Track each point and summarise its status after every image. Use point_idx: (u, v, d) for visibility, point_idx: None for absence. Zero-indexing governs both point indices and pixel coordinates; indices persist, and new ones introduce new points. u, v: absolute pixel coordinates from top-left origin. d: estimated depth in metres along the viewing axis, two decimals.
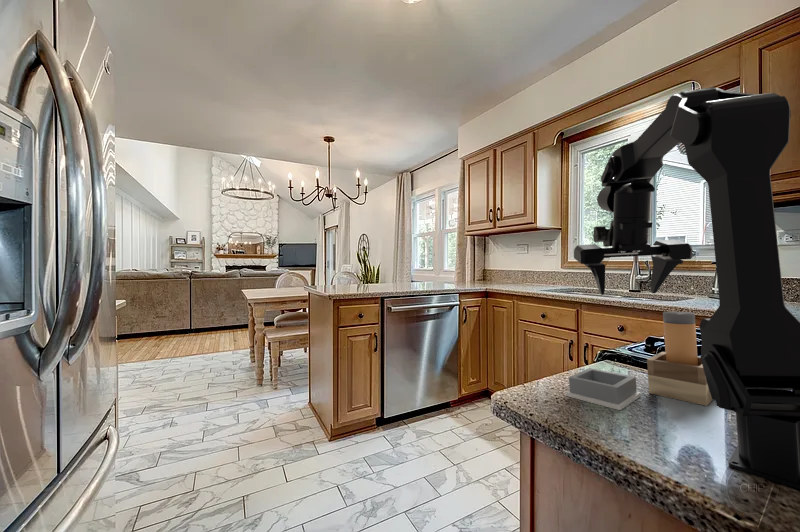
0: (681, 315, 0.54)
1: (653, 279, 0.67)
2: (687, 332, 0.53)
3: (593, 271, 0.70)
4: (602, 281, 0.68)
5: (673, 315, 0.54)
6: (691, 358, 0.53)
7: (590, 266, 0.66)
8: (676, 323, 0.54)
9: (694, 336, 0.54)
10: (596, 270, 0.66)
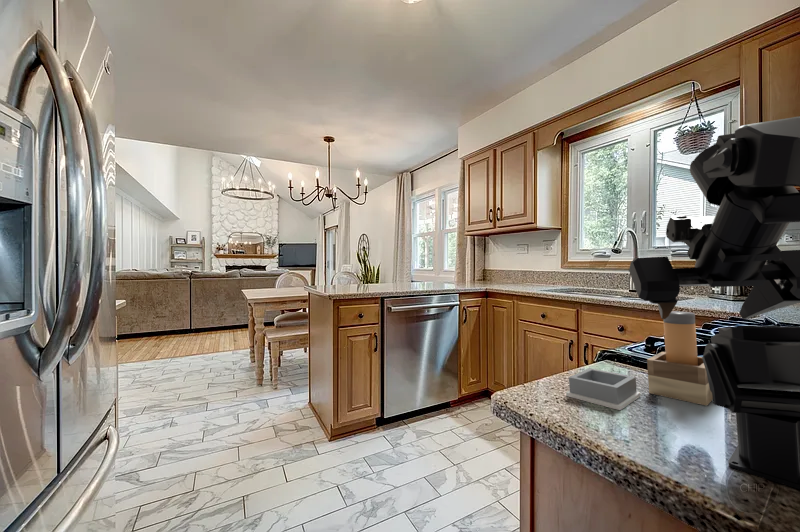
0: (681, 315, 0.54)
1: (749, 302, 0.45)
2: (687, 332, 0.53)
3: None
4: (667, 311, 0.47)
5: (673, 315, 0.54)
6: (691, 358, 0.53)
7: (653, 302, 0.44)
8: (676, 323, 0.54)
9: (694, 336, 0.54)
10: (661, 305, 0.45)
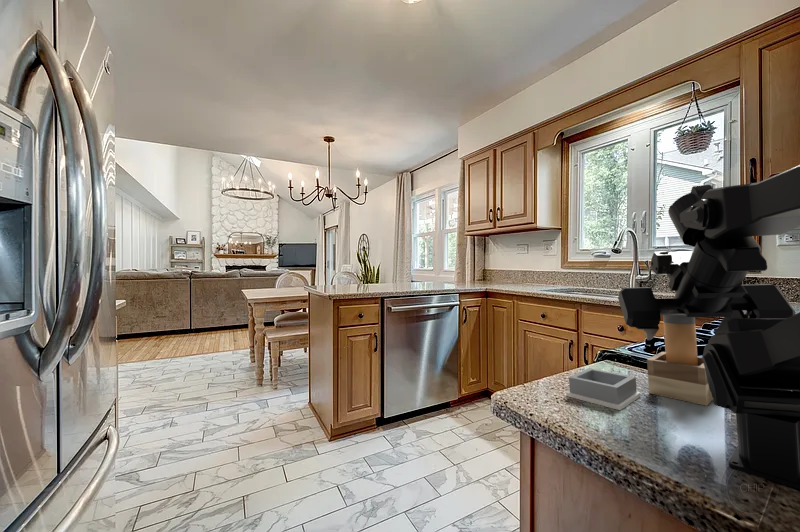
0: (681, 315, 0.54)
1: None
2: (687, 332, 0.53)
3: None
4: (651, 335, 0.53)
5: (673, 315, 0.54)
6: (691, 358, 0.53)
7: (638, 328, 0.51)
8: (676, 323, 0.54)
9: (694, 336, 0.54)
10: (645, 330, 0.51)
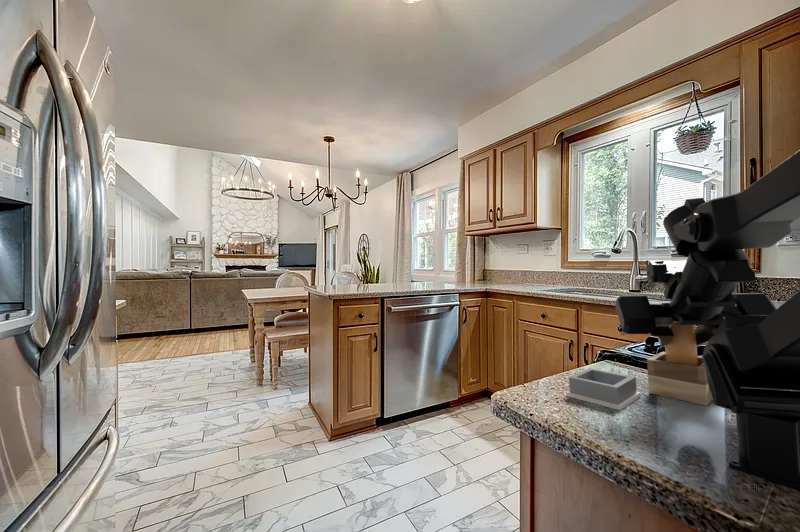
0: None
1: (697, 334, 0.54)
2: (687, 332, 0.53)
3: None
4: (665, 341, 0.54)
5: None
6: (691, 358, 0.53)
7: (653, 335, 0.52)
8: (676, 323, 0.54)
9: (694, 336, 0.54)
10: (660, 337, 0.52)
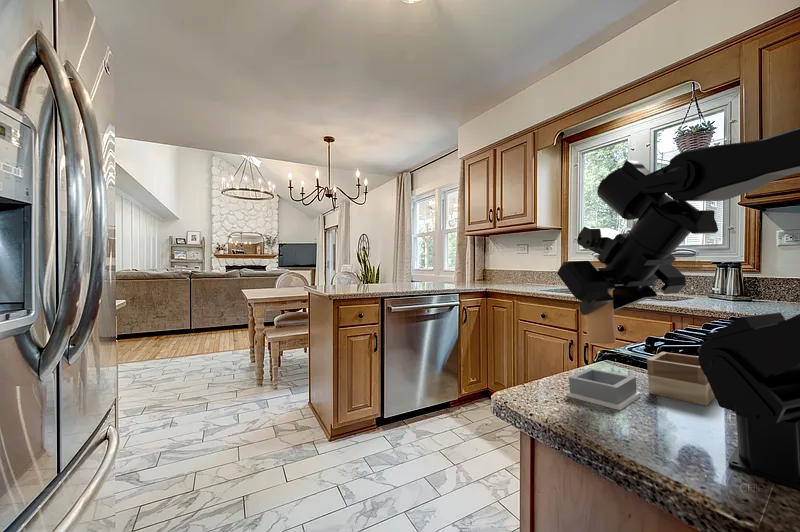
0: None
1: None
2: None
3: None
4: (596, 308, 0.53)
5: None
6: (613, 323, 0.54)
7: (598, 300, 0.49)
8: None
9: None
10: (600, 303, 0.50)
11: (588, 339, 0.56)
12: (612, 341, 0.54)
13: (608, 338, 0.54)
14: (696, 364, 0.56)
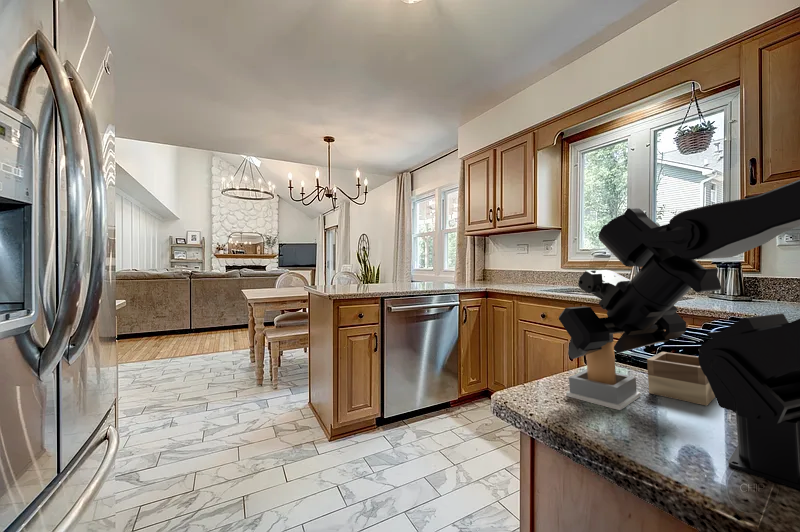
0: None
1: (624, 340, 0.56)
2: (611, 350, 0.54)
3: None
4: (584, 354, 0.52)
5: None
6: (614, 375, 0.54)
7: (586, 350, 0.49)
8: None
9: None
10: (588, 351, 0.50)
11: None
12: None
13: None
14: (696, 364, 0.56)
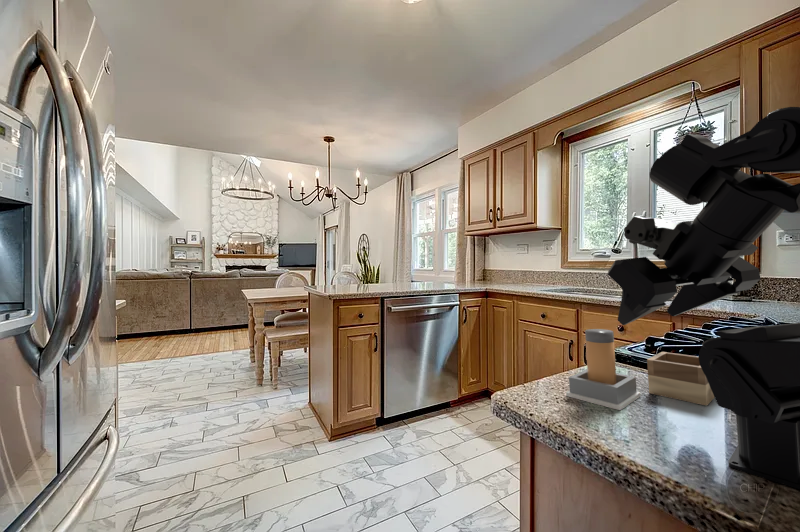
0: (607, 334, 0.54)
1: (681, 300, 0.48)
2: (611, 350, 0.54)
3: (626, 295, 0.44)
4: (640, 316, 0.44)
5: (600, 334, 0.54)
6: (614, 375, 0.54)
7: (648, 307, 0.40)
8: (603, 342, 0.54)
9: (614, 353, 0.55)
10: (649, 309, 0.41)
11: None
12: None
13: None
14: (696, 364, 0.56)
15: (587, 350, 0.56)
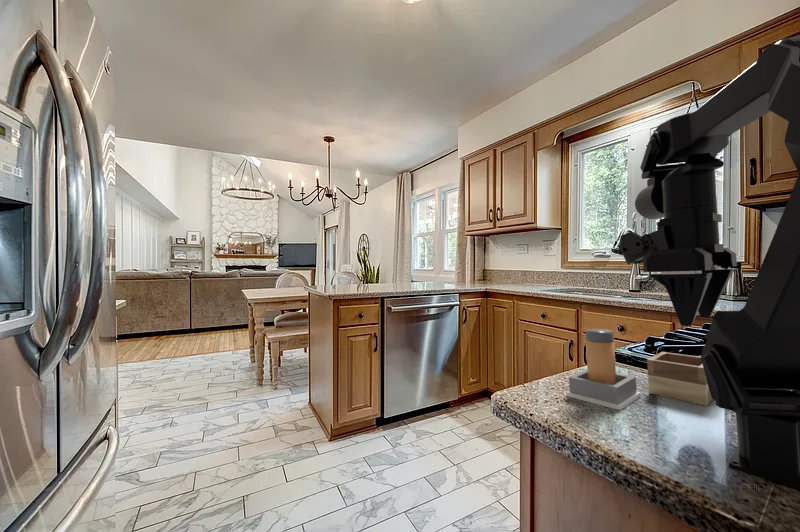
0: (607, 334, 0.54)
1: (702, 299, 0.50)
2: (611, 350, 0.54)
3: (673, 290, 0.44)
4: (700, 302, 0.43)
5: (600, 334, 0.54)
6: (614, 375, 0.54)
7: (705, 275, 0.41)
8: (603, 342, 0.54)
9: (614, 353, 0.55)
10: (706, 282, 0.41)
11: None
12: None
13: None
14: (696, 364, 0.56)
15: (587, 350, 0.56)
